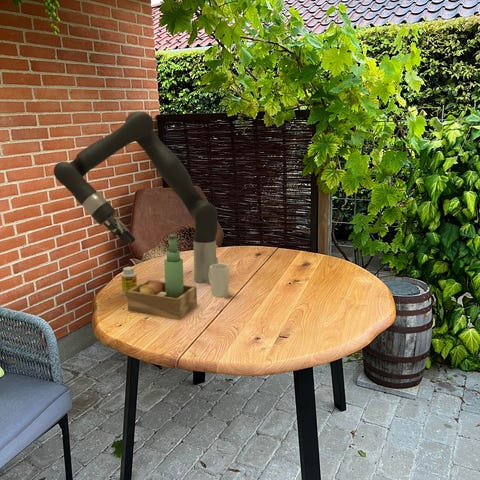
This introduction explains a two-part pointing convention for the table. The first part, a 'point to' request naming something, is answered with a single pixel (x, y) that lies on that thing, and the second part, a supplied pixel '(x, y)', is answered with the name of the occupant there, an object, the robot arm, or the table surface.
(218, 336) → the table surface
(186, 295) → the crate
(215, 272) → the mug
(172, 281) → the green bottle
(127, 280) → the supplement bottle
